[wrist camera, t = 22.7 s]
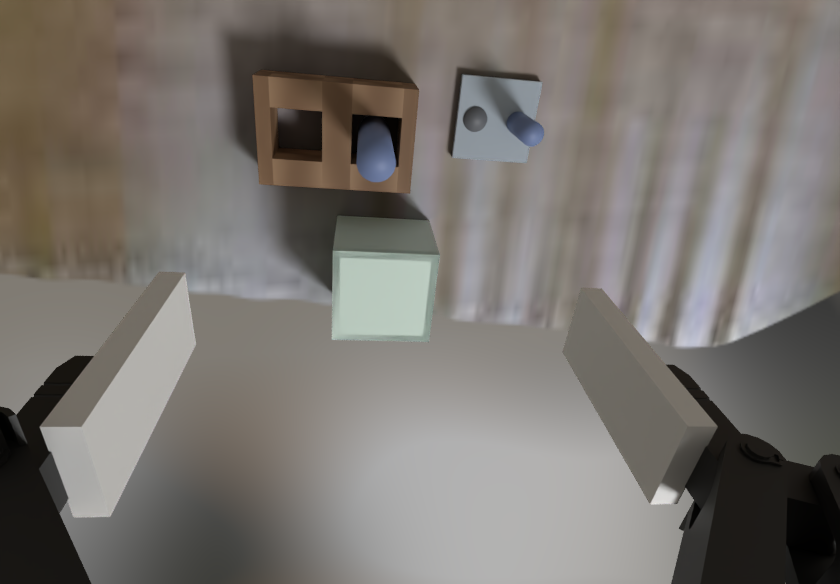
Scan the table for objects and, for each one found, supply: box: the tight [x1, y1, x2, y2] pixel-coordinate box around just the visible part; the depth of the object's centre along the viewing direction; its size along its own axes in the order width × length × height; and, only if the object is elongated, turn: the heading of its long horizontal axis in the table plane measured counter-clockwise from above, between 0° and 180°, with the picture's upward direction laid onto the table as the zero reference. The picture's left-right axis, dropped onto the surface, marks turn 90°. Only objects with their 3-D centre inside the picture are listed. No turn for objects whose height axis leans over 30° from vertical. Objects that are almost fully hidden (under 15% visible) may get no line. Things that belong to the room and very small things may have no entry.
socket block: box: [252, 70, 419, 193], centre depth 40 cm, size 12×8×4 cm, turn 84°
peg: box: [356, 115, 396, 182], centre depth 37 cm, size 3×3×10 cm
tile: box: [451, 74, 544, 163], centre depth 40 cm, size 7×7×5 cm
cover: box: [332, 215, 440, 342], centre depth 44 cm, size 8×8×8 cm
